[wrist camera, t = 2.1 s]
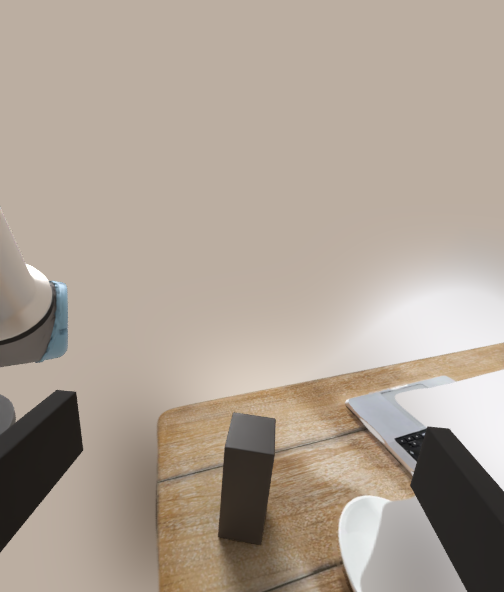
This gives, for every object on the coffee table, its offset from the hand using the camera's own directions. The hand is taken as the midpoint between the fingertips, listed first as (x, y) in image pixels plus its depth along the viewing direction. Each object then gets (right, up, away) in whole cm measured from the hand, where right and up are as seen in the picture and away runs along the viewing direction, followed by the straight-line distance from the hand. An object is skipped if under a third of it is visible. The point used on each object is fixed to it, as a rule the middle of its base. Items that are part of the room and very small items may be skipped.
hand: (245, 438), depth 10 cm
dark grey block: (-1, -19, +20) cm, 27 cm away
